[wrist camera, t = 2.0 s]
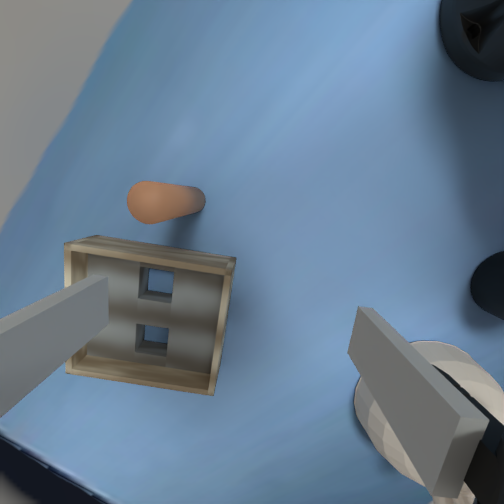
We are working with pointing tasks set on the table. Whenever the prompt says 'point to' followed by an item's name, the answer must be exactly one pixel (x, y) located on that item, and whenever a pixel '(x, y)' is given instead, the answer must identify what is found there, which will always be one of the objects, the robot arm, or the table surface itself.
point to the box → (154, 313)
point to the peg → (163, 201)
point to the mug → (490, 285)
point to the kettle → (468, 378)
